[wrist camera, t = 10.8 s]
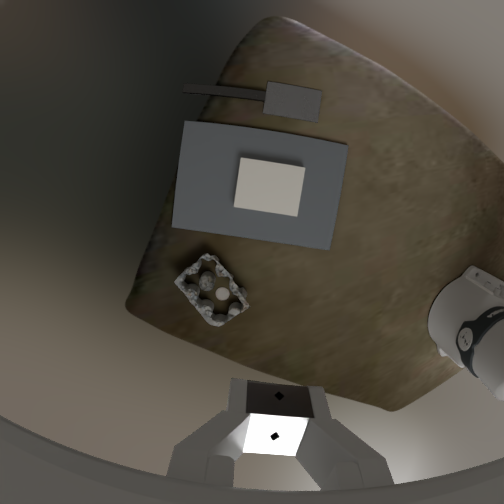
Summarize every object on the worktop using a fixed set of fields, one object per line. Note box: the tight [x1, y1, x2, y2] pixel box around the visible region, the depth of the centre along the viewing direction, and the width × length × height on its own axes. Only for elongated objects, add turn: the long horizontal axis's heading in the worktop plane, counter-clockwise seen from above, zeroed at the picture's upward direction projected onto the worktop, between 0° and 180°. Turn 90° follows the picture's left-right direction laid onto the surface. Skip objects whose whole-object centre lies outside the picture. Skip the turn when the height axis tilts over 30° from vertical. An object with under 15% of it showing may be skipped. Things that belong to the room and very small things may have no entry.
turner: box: [183, 82, 322, 123], centre depth 42 cm, size 20×5×1 cm, turn 82°
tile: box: [234, 158, 305, 217], centre depth 45 cm, size 2×7×9 cm
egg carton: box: [175, 253, 251, 326], centre depth 49 cm, size 11×8×4 cm
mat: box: [172, 121, 348, 250], centre depth 46 cm, size 24×16×1 cm, turn 82°
